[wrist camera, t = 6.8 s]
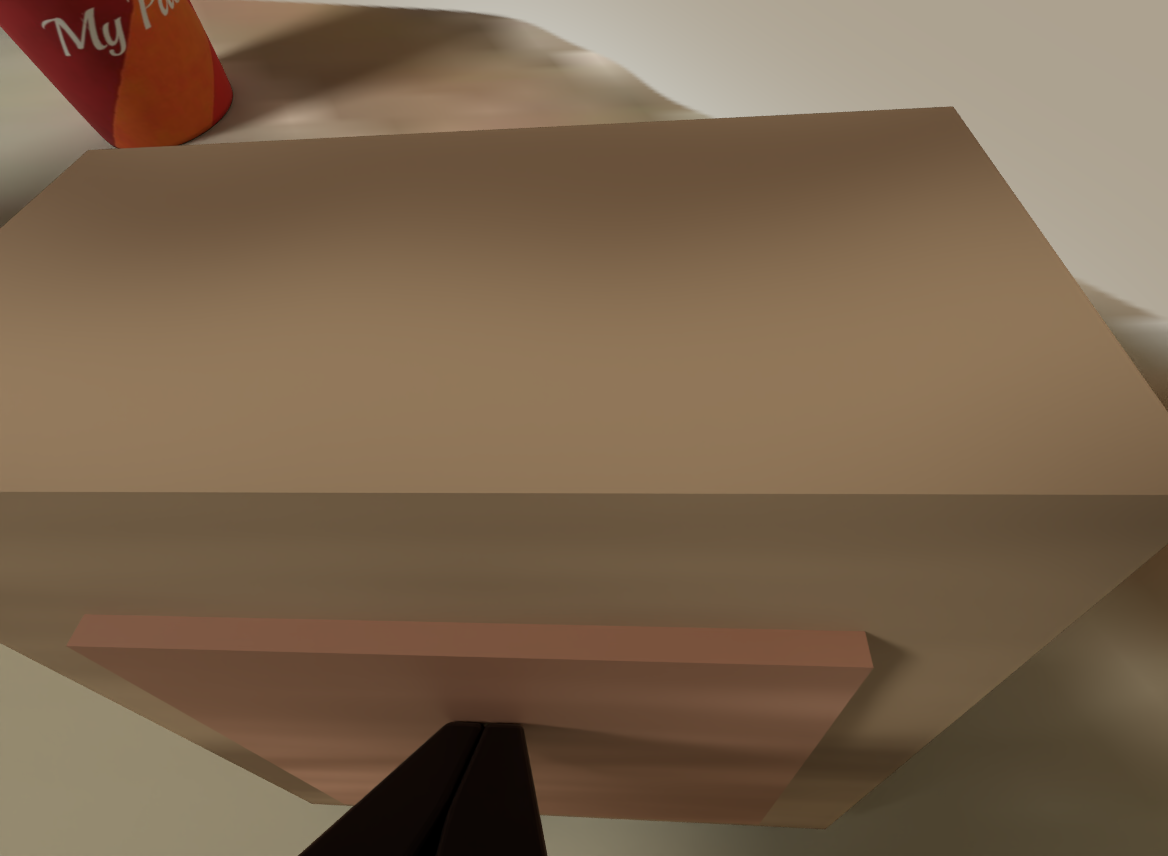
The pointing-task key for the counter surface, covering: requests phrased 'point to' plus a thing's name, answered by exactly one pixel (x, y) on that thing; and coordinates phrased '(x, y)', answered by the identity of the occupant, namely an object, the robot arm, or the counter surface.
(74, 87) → the paper cup
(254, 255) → the wooden box
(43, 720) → the counter surface
